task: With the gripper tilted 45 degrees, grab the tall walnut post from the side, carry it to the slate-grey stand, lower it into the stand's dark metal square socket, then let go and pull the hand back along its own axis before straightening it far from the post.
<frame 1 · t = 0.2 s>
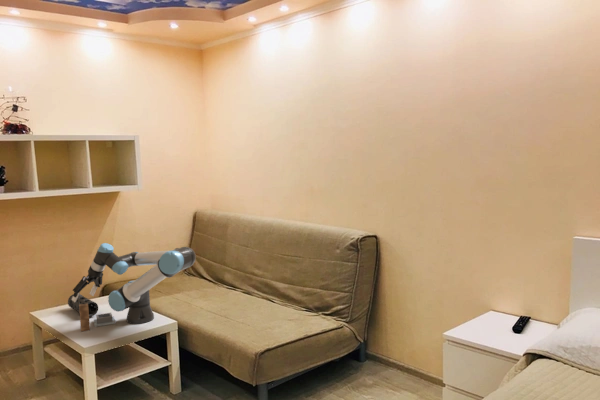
hand: (82, 297, 284), 15 cm above the table, tool tilted 35°, fingers open, 13 cm apart
muzzle brake: (83, 313, 305), on the table
walnut post: (85, 329, 274), on the table
socket stand: (104, 322, 286), on the table
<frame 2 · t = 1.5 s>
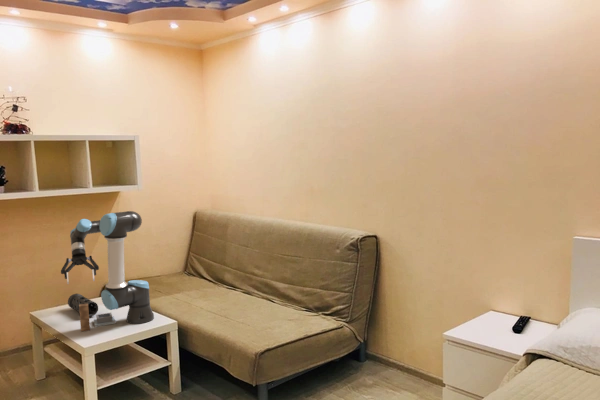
hand: (81, 281, 284), 24 cm above the table, tool tilted 45°, fingers open, 13 cm apart
nothing on the table moved.
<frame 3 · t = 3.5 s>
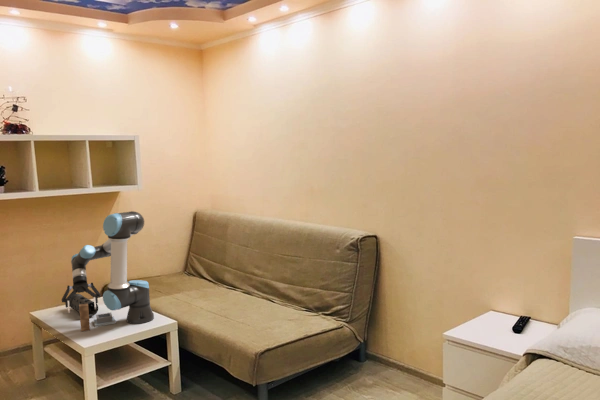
hand: (82, 310, 276), 10 cm above the table, tool tilted 45°, fingers open, 13 cm apart
nothing on the table moved.
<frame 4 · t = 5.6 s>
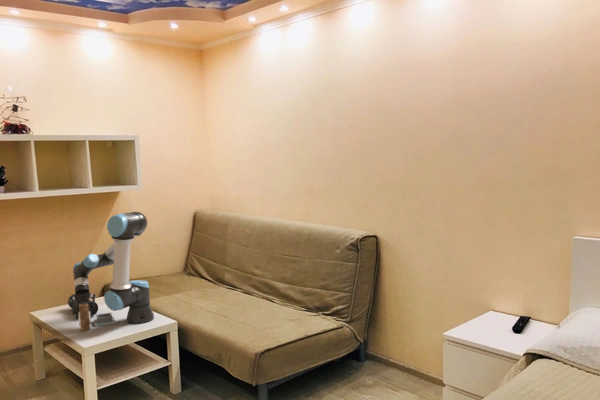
hand: (85, 323, 270), 5 cm above the table, tool tilted 45°, fingers closed on walnut post, 4 cm apart
walnut post: (85, 329, 274), on the table, touching gripper
everything else where it was.
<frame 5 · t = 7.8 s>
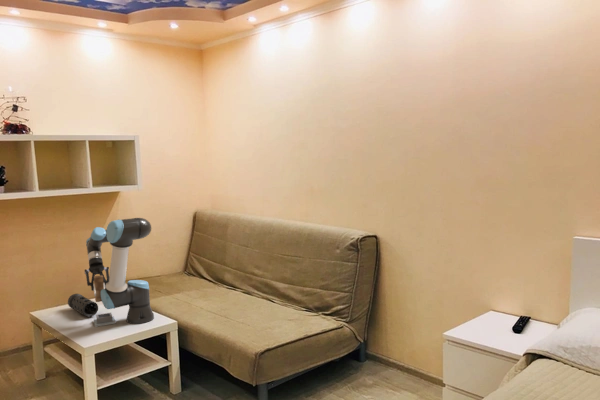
hand: (100, 294, 279), 18 cm above the table, tool tilted 45°, fingers closed on walnut post, 4 cm apart
walnut post: (99, 300, 283), point 13 cm above the table, touching gripper
everything else where it was.
when the fingers open (7 cm above the table, at t = 10.4 s): walnut post drops 1 cm, resting on socket stand.
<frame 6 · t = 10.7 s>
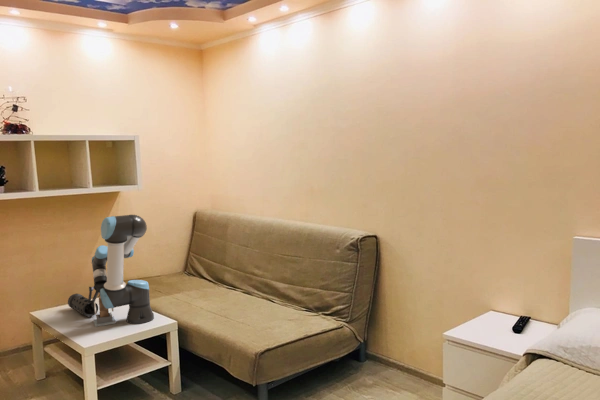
hand: (104, 311, 282), 7 cm above the table, tool tilted 45°, fingers open, 8 cm apart
walnut post: (104, 320, 286), point 1 cm above the table, touching socket stand
everything else where it was.
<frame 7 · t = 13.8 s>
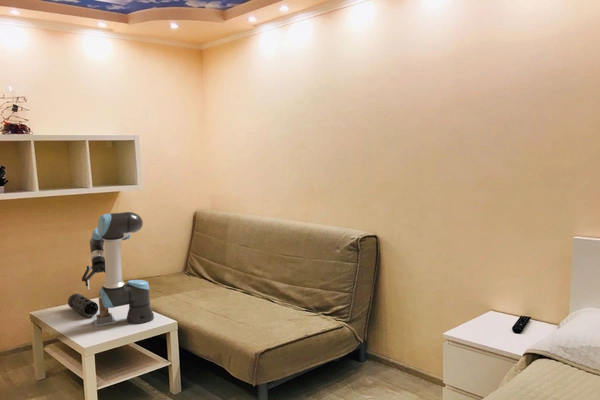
hand: (101, 288, 291), 18 cm above the table, tool tilted 45°, fingers open, 13 cm apart
nothing on the table moved.
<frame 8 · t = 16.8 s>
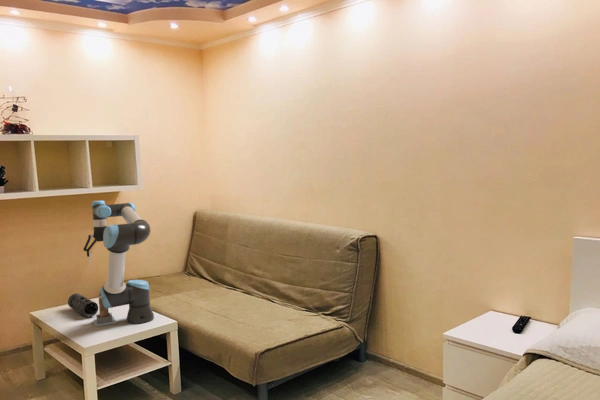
hand: (102, 260, 301), 33 cm above the table, tool pointing down, fingers open, 13 cm apart
nothing on the table moved.
at the end: walnut post 0.1 cm off-centre on the socket stand, point 1.0 cm above the socket stand's base; walnut post tilted 0°; the gripper is holding nothing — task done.
